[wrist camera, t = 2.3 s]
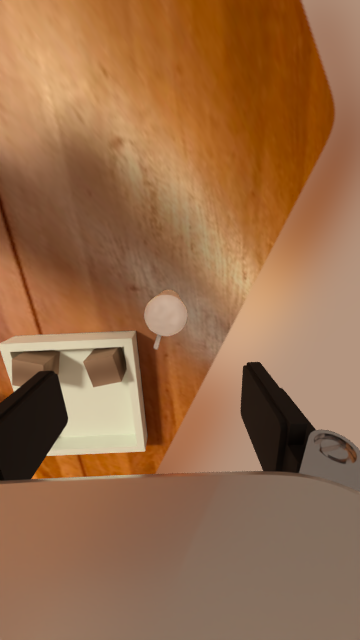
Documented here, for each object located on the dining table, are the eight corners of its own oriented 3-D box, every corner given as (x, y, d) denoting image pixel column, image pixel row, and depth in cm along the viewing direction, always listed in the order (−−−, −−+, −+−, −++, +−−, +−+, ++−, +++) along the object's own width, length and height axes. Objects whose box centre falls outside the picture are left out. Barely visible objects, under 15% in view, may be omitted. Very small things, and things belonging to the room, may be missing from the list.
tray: (14, 335, 31) (-2, 344, 28) (135, 330, 31) (131, 338, 28) (46, 440, 37) (35, 456, 34) (147, 436, 37) (145, 451, 34)
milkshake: (147, 314, 30) (133, 342, 20) (158, 279, 29) (149, 291, 19) (176, 324, 31) (176, 355, 21) (189, 290, 29) (195, 307, 20)
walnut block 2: (94, 348, 31) (83, 361, 27) (120, 343, 31) (112, 355, 27) (103, 371, 32) (93, 387, 28) (127, 366, 32) (121, 381, 28)
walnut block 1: (32, 346, 31) (11, 359, 27) (59, 351, 31) (43, 365, 27) (31, 369, 32) (12, 385, 28) (58, 374, 32) (42, 390, 28)
